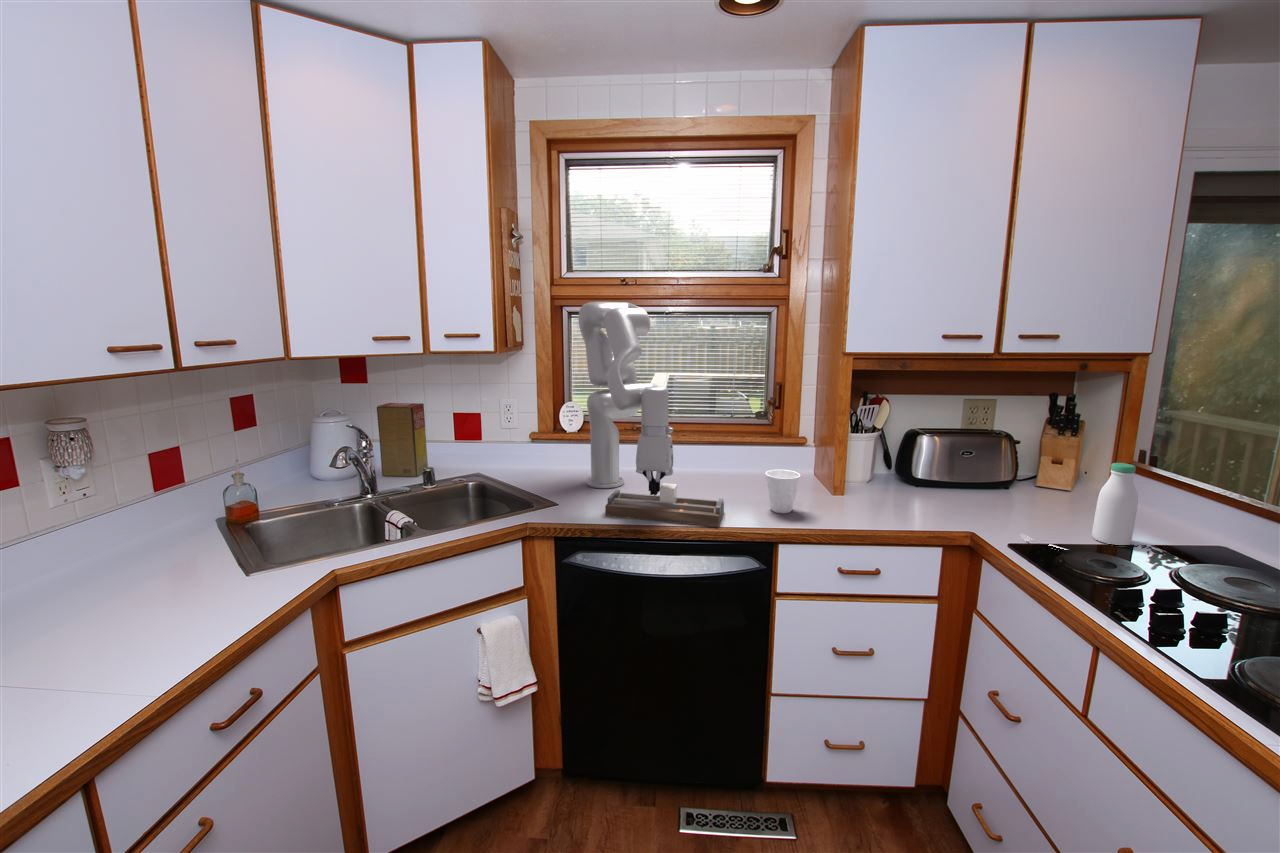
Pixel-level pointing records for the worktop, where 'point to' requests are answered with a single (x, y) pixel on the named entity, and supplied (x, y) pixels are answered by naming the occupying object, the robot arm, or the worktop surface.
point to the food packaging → (402, 439)
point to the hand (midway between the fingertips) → (654, 493)
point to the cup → (782, 489)
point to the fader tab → (668, 493)
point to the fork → (1032, 539)
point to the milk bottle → (1116, 507)
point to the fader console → (665, 509)
